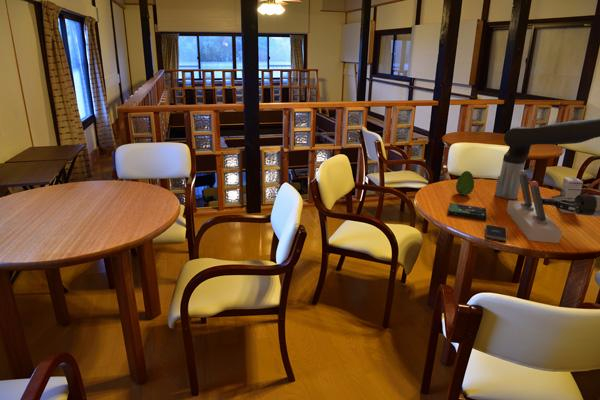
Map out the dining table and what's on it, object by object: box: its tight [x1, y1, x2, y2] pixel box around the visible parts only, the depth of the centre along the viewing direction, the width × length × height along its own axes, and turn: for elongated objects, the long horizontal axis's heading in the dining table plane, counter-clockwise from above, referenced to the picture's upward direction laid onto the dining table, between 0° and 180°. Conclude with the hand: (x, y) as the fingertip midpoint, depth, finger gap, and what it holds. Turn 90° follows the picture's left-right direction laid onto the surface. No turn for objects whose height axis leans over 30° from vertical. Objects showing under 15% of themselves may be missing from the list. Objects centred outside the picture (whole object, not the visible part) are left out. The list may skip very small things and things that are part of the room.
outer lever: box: [528, 180, 546, 221], centre depth 152 cm, size 3×5×15 cm, turn 168°
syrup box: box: [557, 176, 584, 214], centre depth 178 cm, size 6×6×14 cm
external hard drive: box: [484, 224, 508, 243], centre depth 153 cm, size 7×11×2 cm, turn 157°
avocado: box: [455, 170, 475, 196], centre depth 195 cm, size 8×8×12 cm
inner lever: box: [519, 169, 533, 207], centre depth 165 cm, size 3×5×15 cm, turn 168°
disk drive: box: [447, 202, 487, 222], centre depth 173 cm, size 10×3×15 cm
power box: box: [506, 200, 563, 244], centre depth 162 cm, size 10×30×6 cm, turn 169°
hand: (540, 200), depth 152 cm, fingers closed
